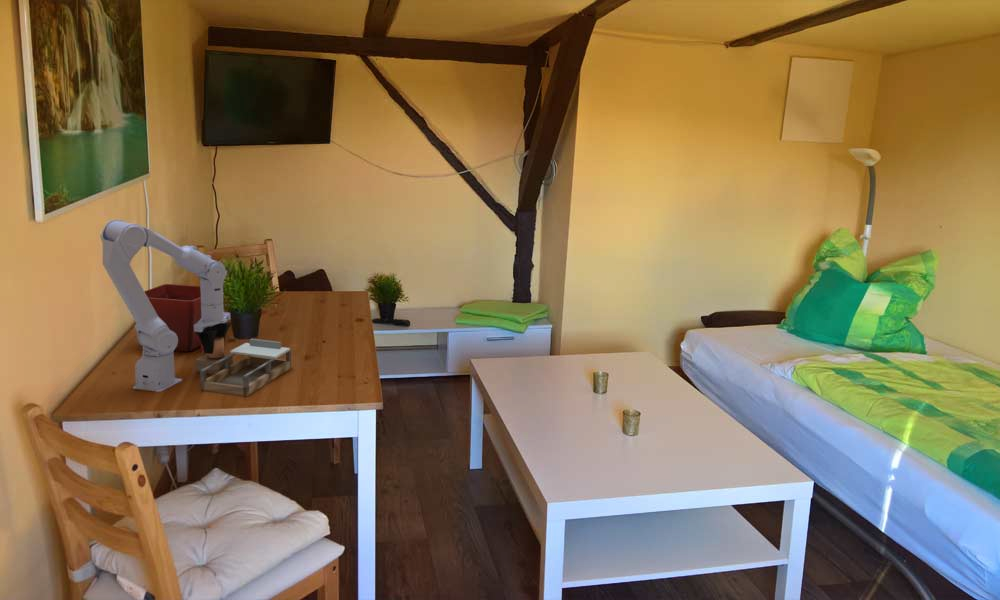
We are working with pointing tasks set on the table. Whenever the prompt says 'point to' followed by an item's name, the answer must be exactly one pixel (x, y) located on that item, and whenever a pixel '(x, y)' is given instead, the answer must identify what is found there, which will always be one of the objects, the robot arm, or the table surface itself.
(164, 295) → the plant pot
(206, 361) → the stand
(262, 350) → the lid
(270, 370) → the cold frame
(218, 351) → the pot
